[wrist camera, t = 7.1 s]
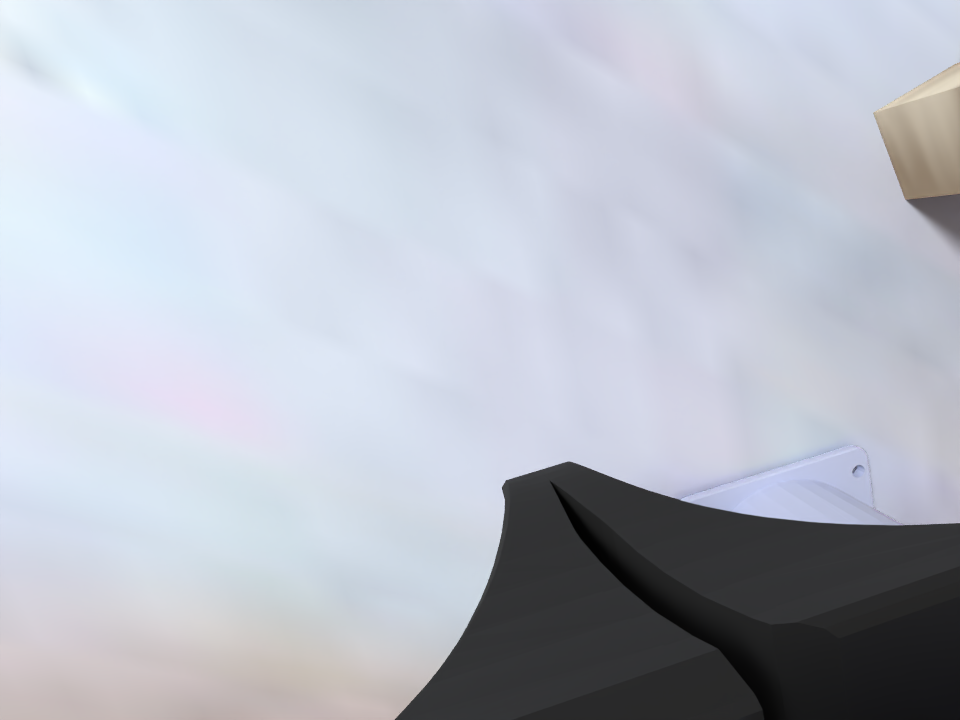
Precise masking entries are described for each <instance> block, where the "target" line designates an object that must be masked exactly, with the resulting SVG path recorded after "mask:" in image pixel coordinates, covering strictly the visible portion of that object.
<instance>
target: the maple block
mask: <svg viewBox="0 0 960 720" xmlns="http://www.w3.org/2000/svg"><path fill="white" fill-rule="evenodd" d="M874 116H875V119H876V121H877V124H878V127H879V130H880V132H881V135H882V138H883V140H884V143H885V146H886V148H887V151H888V154H889V157H890V159H891V162H892V165H893V167H894V170H895V173H896V175H897V178H898V181H899V183H900V186H901V189H902V192H903V194H904V197H905V200H908V199H917V198H926V197H936V196H945V195H954V194H960V63H957V64H955V65H953V66H951V67H950V68H948V69H946V70H945V71H943V72H941V73H939V74H938V75H936V76H934V77H933V78H931V79H929V80H928V81H926V82H924V83H923V84H921V85H919V86H918V87H916V88H914V89H913V90H911V91H909V92H908V93H906V94H904V95H902V96H901V97H899V98H897V99H896V100H894V101H892V102H891V103H889V104H887V105H886V106H884V107H882V108H881V109H879V110H877V111H876V112H874Z"/></svg>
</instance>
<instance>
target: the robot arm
mask: <svg viewBox="0 0 960 720" xmlns="http://www.w3.org/2000/svg"><path fill="white" fill-rule="evenodd" d="M856 466H857V469H856V471H855V472H854V473H852V472H853V469H854V467H856ZM502 490H503V494H504V498H505V514H504V521H503V528H502V535H501V539H500V543H499V547H498V551H497V555H496V559H495V563H494V566H493V569H492V572H491V575H490V578H489V580H488V583H487V586H486V588H485V590H484V593H483V595H482V598H481V600H480V602H479V604H478V606H477V608H476V610H475V612H474V614H473V616H472V618H471V620H470V622H469V624H468V626H467V628H466V629H465V631H464V633H463V635H462V636H461V638H460V640H459V641H458V643H457V645H456V646H455V647H454V649H453V650H452V652H451V653H450V655H449V656H448V658H447V659H446V661H445V662H444V663H443V665H442V666H441V667H440V669H439V670H438V671H437V673H436V674H435V675H434V676H433V678H432V679H431V680H430V681H429V683H428V684H427V685H426V686H425V687H424V688H423V689H422V691H421V692H420V693H419V694H418V695H417V696H416V697H415V698H414V699H413V700H412V701H411V703H410V704H409V705H408V706H407V707H406V708H405V709H404V710H403V711H402V712H401V713H400V715H399V716H398V717H397V718H396V719H395V720H960V523H955V524H929V525H903V524H901V523H899V522H898V521H896V520H894V519H892V518H890V517H889V516H887V515H885V514H883V513H881V512H879V511H878V510H876V509H874V502H873V494H872V486H871V478H870V471H869V463H868V456H867V453H866V451H865V450H864V449H862V448H860V447H858V446H855V445H849V446H846V447H843V448H839V449H836V450H833V451H830V452H827V453H823V454H820V455H817V456H814V457H811V458H807V459H804V460H801V461H798V462H795V463H791V464H788V465H785V466H782V467H779V468H775V469H772V470H769V471H766V472H763V473H760V474H756V475H753V476H750V477H747V478H744V479H740V480H737V481H734V482H731V483H728V484H724V485H721V486H718V487H715V488H712V489H708V490H705V491H702V492H699V493H696V494H692V495H689V496H686V497H684V498H682V499H680V500H678V499H675V498H671V497H668V496H664V495H661V494H658V493H654V492H651V491H648V490H645V489H642V488H639V487H637V486H634V485H631V484H628V483H625V482H623V481H620V480H617V479H615V478H612V477H609V476H607V475H604V474H602V473H599V472H597V471H594V470H592V469H589V468H587V467H584V466H581V465H579V464H576V463H573V462H565V463H562V464H559V465H555V466H552V467H549V468H546V469H542V470H539V471H536V472H532V473H529V474H526V475H522V476H519V477H516V478H513V479H509V480H506V482H505V483H504V485H503V487H502Z"/></svg>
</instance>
